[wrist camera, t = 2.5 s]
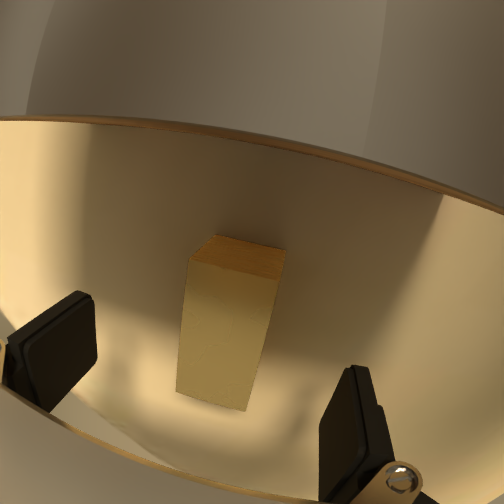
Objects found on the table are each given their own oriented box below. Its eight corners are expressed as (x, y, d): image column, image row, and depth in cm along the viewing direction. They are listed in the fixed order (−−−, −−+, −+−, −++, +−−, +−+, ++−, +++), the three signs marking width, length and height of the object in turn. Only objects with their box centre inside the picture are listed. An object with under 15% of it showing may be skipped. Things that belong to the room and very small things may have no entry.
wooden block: (286, 249, 13) (279, 281, 10) (257, 363, 15) (245, 411, 12) (216, 233, 14) (188, 259, 10) (199, 347, 15) (175, 391, 12)
